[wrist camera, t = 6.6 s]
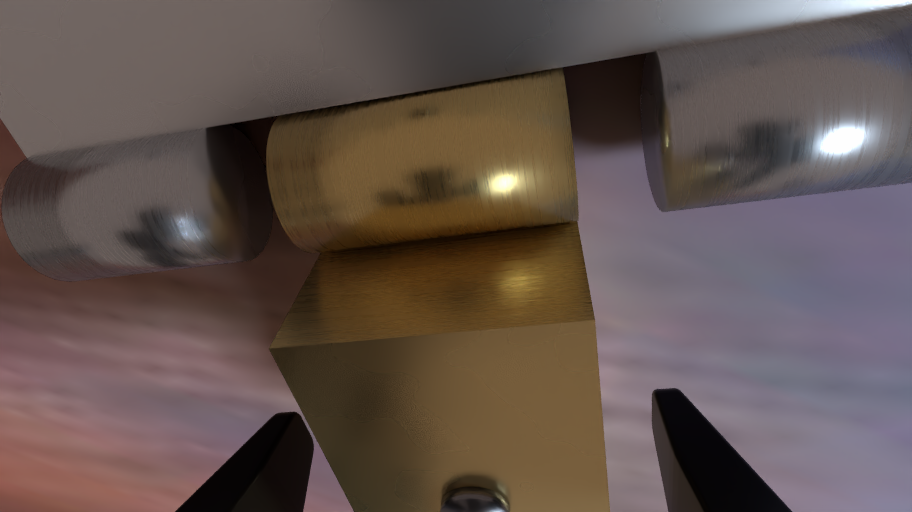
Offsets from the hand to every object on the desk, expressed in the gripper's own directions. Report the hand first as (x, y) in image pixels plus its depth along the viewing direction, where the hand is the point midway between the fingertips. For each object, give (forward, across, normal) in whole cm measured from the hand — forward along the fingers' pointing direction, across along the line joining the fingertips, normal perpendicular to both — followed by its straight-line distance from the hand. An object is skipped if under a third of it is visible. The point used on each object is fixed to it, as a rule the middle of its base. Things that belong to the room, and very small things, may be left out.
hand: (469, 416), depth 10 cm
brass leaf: (+3, 0, -1) cm, 3 cm away
